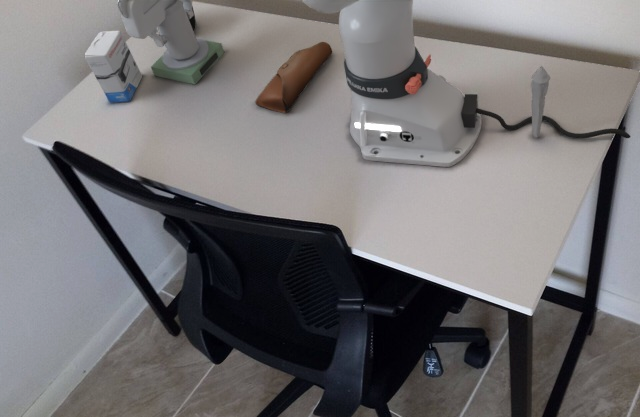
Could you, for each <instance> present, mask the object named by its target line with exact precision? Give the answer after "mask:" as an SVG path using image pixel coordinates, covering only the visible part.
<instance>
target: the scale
mask: <svg viewBox="0 0 640 417" xmlns="http://www.w3.org/2000/svg"><path fill="white" fill-rule="evenodd" d="M196 39H197V41H198V44H199V48H198V50H197V52H196V54H195V55H193V56H192V57H190V58H188V59H185V60H178V59H174V58H172V57H171V56H170V55H169V52H168V50H167V49H165V51H164V52H163V54H162V55H161V56H160V57H158V59H157V60H156V61H155V62H154V63H153V64H152V65H151V66H150V68H151V70H152V72H153V75H154V76H155V77H158V78H162V79H168V80H172V81H177V82H182V83H187V84H191V85H196V84H197V83H198V82H199V81H200V80H201V79H202V78H203V77H204V75H206V73H207V72H209V70H210V69H211V68H212V67H213V66H214V64H216V62H217V61H218V60H219V59H220V58H221V57H222V56H223V55H224V54H225V50H224V47H223V44H222V43H221V42H217V41H212V40H211V41H210V40H205V39H202V38H197V37H196Z"/></svg>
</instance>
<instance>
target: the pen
mask: <svg viewBox="0 0 640 417" xmlns="http://www.w3.org/2000/svg"><path fill="white" fill-rule="evenodd" d="M530 79H531V81H530V89H531V107H530V108H531V116H532V121H531V134H532V137H534V138H535V139H537V138H538V137H540V133H541V129H542V128H541V127H542V122H543V120H542V116H543V115H544V110H545V104H546V96H547V94H548V90H549V86H550V81H551V76H550V75H549V73H548V71H547V70H546V69H545V68H544V66H543V65H540V66H539V67H538V68H537V69H536V70H535V71H534V73H533V74H532V75H531V77H530Z"/></svg>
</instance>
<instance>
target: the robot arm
mask: <svg viewBox="0 0 640 417" xmlns="http://www.w3.org/2000/svg"><path fill="white" fill-rule="evenodd" d="M174 1H175V0H117V3H116V5H117V9H118V11H119V15H120V17H121V20H122V24H123V26H124V29H125V31H126V34H127V35H128V36H130V38H131V37H132V38H135V39H140V40H145V39H146V38H148V37H149V38H151V39H152V40H153V41H154V43H155V45H156V46H157V47H161V48H163V47H164V46H165V44H166V43H167V40H166V38H165V36H164V35H161V34H160V33H159V34H158V32H159V30H158V28H157V27H158V26H159V25H160V24H161V23H162V22H163V21H164V20H165V14H166V11H165V9H166V8H167V7H169V6H170V5H171V4H172V3H173V2H174ZM180 1H181V2H183V6H184V9H185V11H186V14H187V16H188V19H191V18H192V17H193V16H194V14H195V12H194V13H193V10H194V9H193V10H192V6H193V0H180ZM301 2H302V3H303V4H304V5H306V6H307V7H309V8H310V9H312V10H314V11H316V12H318V13H321V14H325V15H326V14H327V15H332V14H336V13H339V17H338V28H339V33H340V39H341V45H342V49H343V55H344V59H343V60H344V61H343V67H344V74H345V79H346V85H347V86H348V87H349V89H350V100H351V114H350V123H349V133H350V136H351V138H352V139H353V140H354V141H355V143H356V144H357V145H358V147H359V148H360V154H361V158H363V160H366V161H370V162H384V163H395V164H406V165H416V166H417V165H418V166H428V167H430V166H432V167H442V168H443V167H444V168H450V167H453V166H454V165H456V164H458V163H459V162H461V161H462V160H463V159H464V158H465V157H466V156H467V155H468V154H469V153H470V151H471V150H472V149H473V146H475V144H476V142H477V140H478V137H479V135H480V134H481V133H480V132H481V130H482V115H483V116H486V117H489V118H493V119H494V120H497V121H498V123H499V124H500V126H501V127H502V128H503V129H504V130H507V131H515V130H518V129H520V128H522V127H524V126H525V125H528V124H529V123H532V115H530V116H528V117H526V118H524V119H523V120H522V121H519V122H518V123H515V124H511V125H510V124H507V122H506V121H505V119H504V118H503V117H502V116H501V115H499V114H497V113H495V112H492V111H490V110H486V109H482V108H479V99H478V98H479V96H478V93H465V94H463V92H462V90H461V89H460V88H458V87H456V86H455V85H453V84H451V83H450V82H448V81H447V79H446V78H445V77H444V76H443V75H440V74H436V73H435V72H434V71H432V70H431V69H429V66H430V65H431V62H432V54H431V53H430V54H429V55H428V56H426V58H425V61H424V58H423V57H422V55H421V54H420V51H419V50H418V48H417V47H416V43H415V32H414V19H413V18H414V17H413V5H414V0H301ZM542 121H544V122H547V123H548V124H550V125H551V126H552V127H553V128H554V129H555V130H556V132H558V133H559V134H561V135H563V136H565V137H568V138H572V139H589V138H593V137H598V136H603V135H604V136H605V135H611V134H614V135H619V136H620V137H623V138H625V139H630V138H631V135H630V134H629V133H628V132H626V131H625V130H623V129H619V128H612V127H611V128H603V129H598V130H594V131H589V132H582V133H581V132H580V133H575V132H572V131H571V132H570V131H568V130H566V129H565V128H563V127H562V126H561V125H560V124H559V123H558V122H557V121H555V120H554V119H553V117H549V116H547V115H544V114H543V116H542Z"/></svg>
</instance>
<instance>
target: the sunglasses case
mask: <svg viewBox="0 0 640 417" xmlns="http://www.w3.org/2000/svg"><path fill="white" fill-rule="evenodd" d="M332 54H333V48H332V46H331V45H330V44H329V43H328V42H325V41H320V42H318V43H316V44H314V45H312V46H310V47H307V48H303V49H299V50H296V51H295V52H294V53H293V54H292V55H290V57H289V58H288V60H287V61H284V63H283V64H282V65H281V66H280V67H279V68H278V69H277V71H276V74H275V75H274V76H273V77H272V78H271V79H270V81H269V82H268V83H267V85H266V86H265V87H264V88H263V89H262V91H261V92H260V93H259V95H257V97H256V99H255V101H254V103H255V105H256V106H259V107H260V108H264V109H266V110H270V111H273V112H277V113H280V114H287V113H289V111H290V110H291V109H292V108H293V107H294V105H295V104H296V102H297V101H298V99H299V98H300V96H301V94H302V93H303V92H304V91H305V89H306V88H307V87H308V85H309V84H310V83H311V81H312V80H313V79H314V77H315V76H316V74H317V73H318V72H319V71H320V70H321V68H322V67H323V66H324V64H325V63H326V62H327V61H328V59H329V58H330V57H331V56H332Z"/></svg>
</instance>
